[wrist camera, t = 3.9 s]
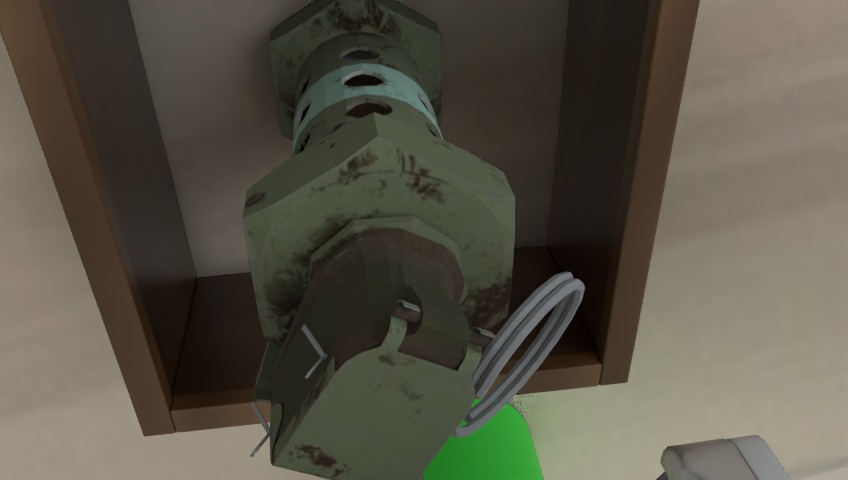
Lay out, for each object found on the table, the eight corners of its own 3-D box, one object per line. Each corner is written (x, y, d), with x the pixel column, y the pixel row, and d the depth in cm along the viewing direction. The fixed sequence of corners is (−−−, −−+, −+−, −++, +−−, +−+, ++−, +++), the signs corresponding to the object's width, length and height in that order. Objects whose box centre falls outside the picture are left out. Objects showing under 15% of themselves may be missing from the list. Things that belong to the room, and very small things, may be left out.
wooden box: (614, -177, 21) (729, -150, 15) (566, 260, 30) (628, 383, 24) (55, -156, 20) (-54, -118, 14) (178, 297, 29) (143, 437, 23)
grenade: (225, 133, 25) (139, 504, 13) (305, -48, 22) (296, 206, 10) (410, 210, 28) (489, 577, 15) (504, 58, 25) (695, 360, 12)
